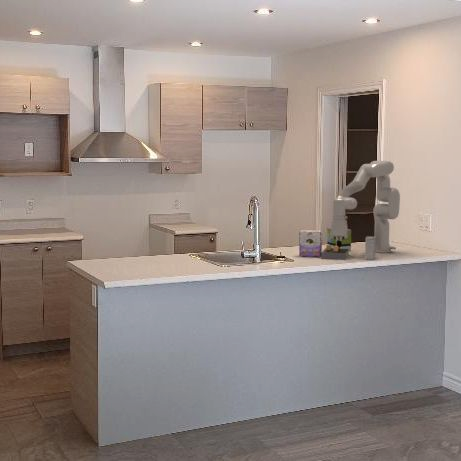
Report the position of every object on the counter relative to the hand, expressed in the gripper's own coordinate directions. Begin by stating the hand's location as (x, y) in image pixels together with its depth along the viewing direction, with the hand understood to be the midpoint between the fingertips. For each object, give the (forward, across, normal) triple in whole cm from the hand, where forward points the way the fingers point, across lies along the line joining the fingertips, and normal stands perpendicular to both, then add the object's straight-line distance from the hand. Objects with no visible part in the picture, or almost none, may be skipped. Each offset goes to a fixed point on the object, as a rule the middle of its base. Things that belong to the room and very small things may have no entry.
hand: (339, 247), depth 459 cm
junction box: (+6, -19, 0) cm, 20 cm away
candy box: (+6, +18, +2) cm, 19 cm away
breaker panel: (+6, +2, 0) cm, 7 cm away
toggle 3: (+2, +1, +6) cm, 6 cm away
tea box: (+7, +3, -30) cm, 31 cm away
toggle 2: (+2, +1, -5) cm, 6 cm away
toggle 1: (+2, +7, 0) cm, 7 cm away
